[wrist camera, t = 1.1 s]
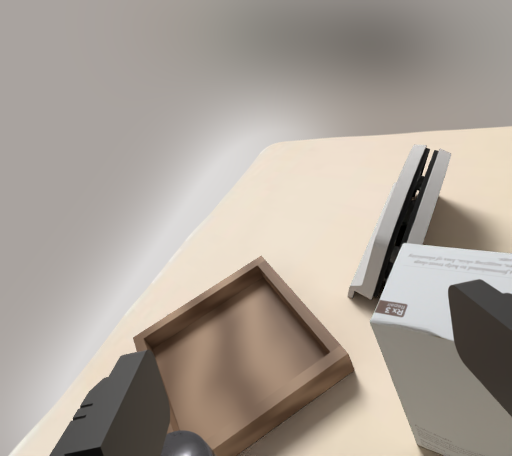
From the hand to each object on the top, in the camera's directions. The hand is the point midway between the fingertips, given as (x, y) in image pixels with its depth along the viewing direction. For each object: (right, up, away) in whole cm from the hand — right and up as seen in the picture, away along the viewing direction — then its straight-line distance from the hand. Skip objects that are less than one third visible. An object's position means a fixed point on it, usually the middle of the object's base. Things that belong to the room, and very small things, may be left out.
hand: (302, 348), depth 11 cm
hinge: (+15, +1, +32) cm, 35 cm away
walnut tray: (-3, -9, +29) cm, 30 cm away
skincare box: (+14, -11, +17) cm, 25 cm away
